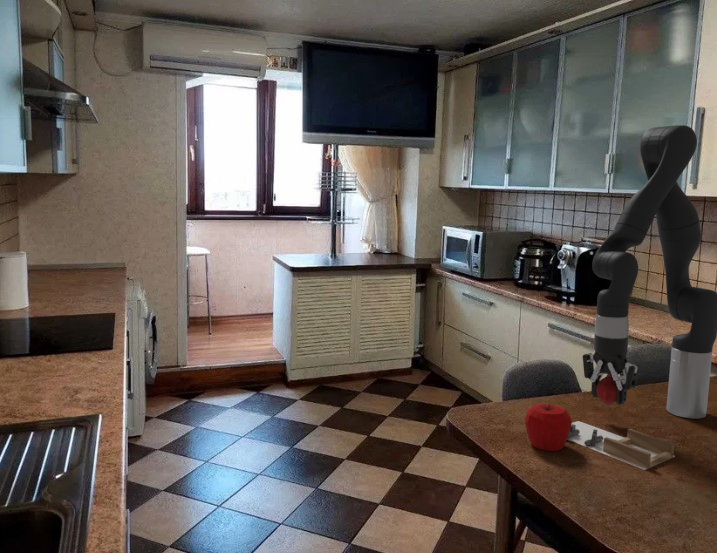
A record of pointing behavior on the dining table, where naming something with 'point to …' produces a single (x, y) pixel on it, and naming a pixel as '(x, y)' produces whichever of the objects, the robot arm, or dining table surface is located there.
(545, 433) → the apple
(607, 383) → the onion
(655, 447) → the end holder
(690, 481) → the dining table surface
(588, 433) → the board
